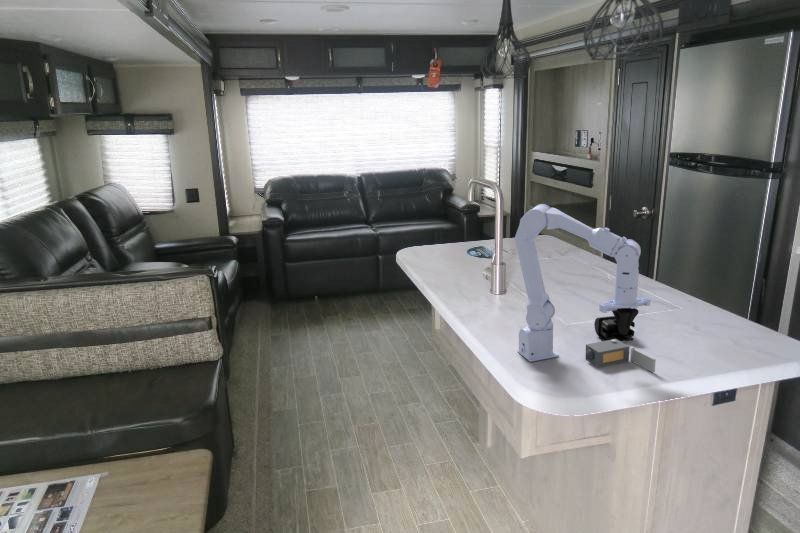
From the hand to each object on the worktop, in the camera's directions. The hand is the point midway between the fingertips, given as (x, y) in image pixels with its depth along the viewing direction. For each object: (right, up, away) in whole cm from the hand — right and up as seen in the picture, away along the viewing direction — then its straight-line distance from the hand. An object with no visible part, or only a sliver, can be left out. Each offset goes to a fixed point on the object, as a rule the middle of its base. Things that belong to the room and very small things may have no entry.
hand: (623, 333), depth 155 cm
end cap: (+6, -4, +22) cm, 23 cm away
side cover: (+6, -9, +1) cm, 11 cm away
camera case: (-2, -8, +7) cm, 11 cm away
